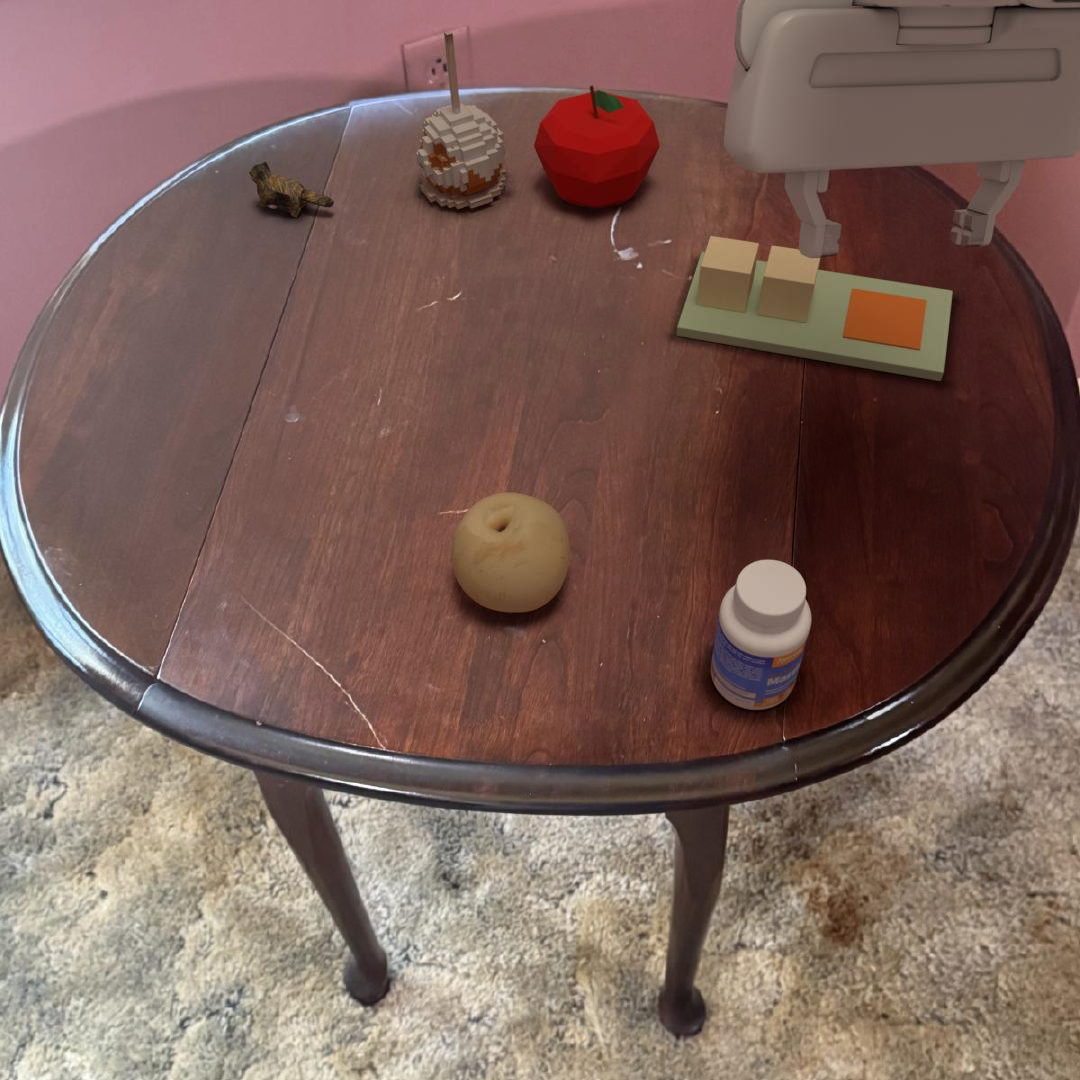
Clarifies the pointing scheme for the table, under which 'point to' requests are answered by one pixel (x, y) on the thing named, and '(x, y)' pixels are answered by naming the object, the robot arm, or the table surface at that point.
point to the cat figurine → (284, 191)
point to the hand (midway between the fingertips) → (895, 250)
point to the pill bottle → (761, 635)
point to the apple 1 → (511, 552)
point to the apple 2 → (596, 148)
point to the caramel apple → (460, 150)
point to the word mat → (815, 311)
